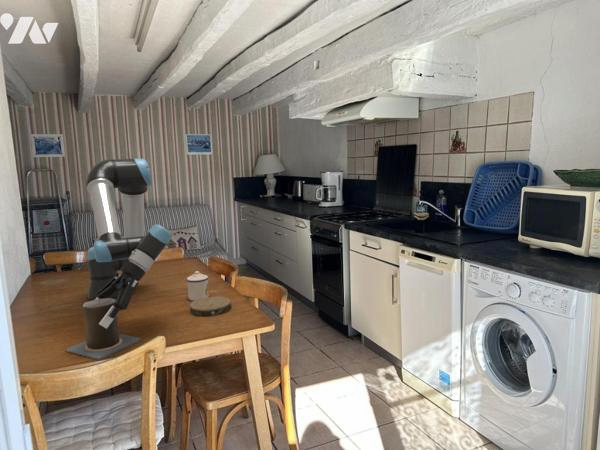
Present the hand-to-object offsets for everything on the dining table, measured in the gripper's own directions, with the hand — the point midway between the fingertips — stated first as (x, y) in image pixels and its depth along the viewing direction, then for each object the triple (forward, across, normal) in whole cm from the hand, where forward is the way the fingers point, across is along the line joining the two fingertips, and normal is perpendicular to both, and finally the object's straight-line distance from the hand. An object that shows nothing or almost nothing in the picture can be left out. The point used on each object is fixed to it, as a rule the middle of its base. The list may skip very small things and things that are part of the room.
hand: (94, 321), depth 136 cm
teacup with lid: (-29, -22, +41) cm, 55 cm away
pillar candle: (+4, 0, +7) cm, 8 cm away
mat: (+5, 0, +8) cm, 9 cm away
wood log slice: (-24, -3, +38) cm, 45 cm away
